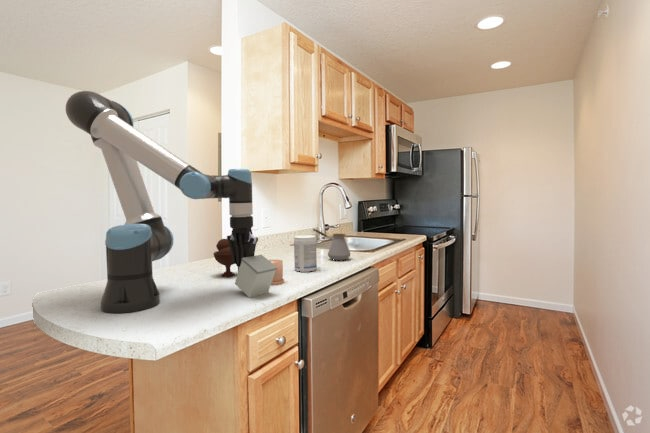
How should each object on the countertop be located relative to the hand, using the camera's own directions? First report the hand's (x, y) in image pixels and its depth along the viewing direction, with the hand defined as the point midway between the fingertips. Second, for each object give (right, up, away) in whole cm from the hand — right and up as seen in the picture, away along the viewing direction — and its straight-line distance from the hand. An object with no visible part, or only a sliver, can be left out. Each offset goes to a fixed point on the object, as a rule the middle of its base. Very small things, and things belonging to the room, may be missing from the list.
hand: (243, 285), depth 120 cm
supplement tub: (+19, 0, +33) cm, 38 cm away
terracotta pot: (+8, -1, +11) cm, 14 cm away
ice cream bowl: (-11, -1, +23) cm, 26 cm away
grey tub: (+3, 0, -3) cm, 4 cm away
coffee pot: (+30, +1, +61) cm, 68 cm away
